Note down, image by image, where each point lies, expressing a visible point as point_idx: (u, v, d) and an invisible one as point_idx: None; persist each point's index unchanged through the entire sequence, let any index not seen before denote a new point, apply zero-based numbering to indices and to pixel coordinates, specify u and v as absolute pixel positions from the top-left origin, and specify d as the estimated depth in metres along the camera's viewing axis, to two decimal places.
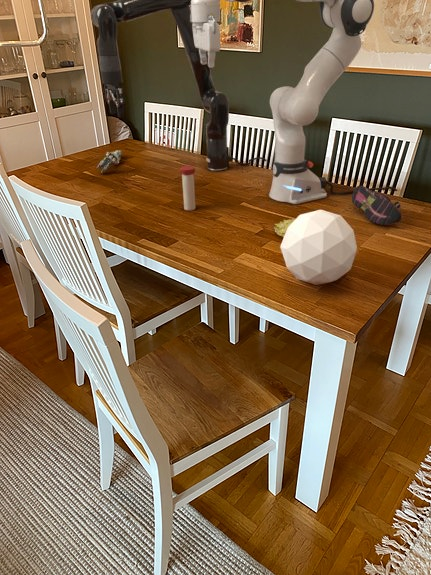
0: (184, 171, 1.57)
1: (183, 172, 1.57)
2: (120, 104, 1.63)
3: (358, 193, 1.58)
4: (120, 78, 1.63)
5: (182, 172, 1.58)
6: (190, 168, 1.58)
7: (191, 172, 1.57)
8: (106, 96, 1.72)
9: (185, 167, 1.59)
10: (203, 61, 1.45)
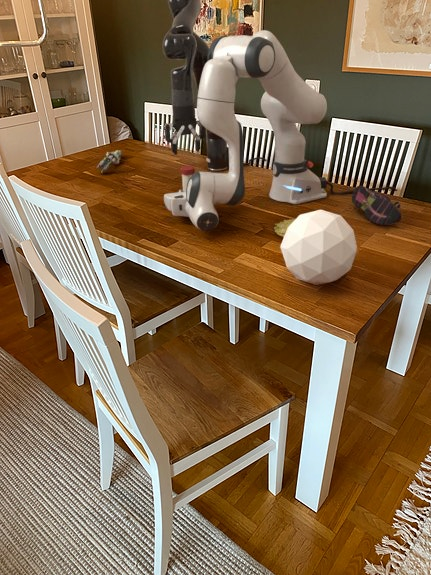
0: (184, 171, 1.57)
1: (183, 172, 1.57)
2: None
3: (358, 193, 1.58)
4: None
5: (182, 172, 1.58)
6: (190, 168, 1.58)
7: (191, 172, 1.57)
8: None
9: (185, 167, 1.59)
10: None
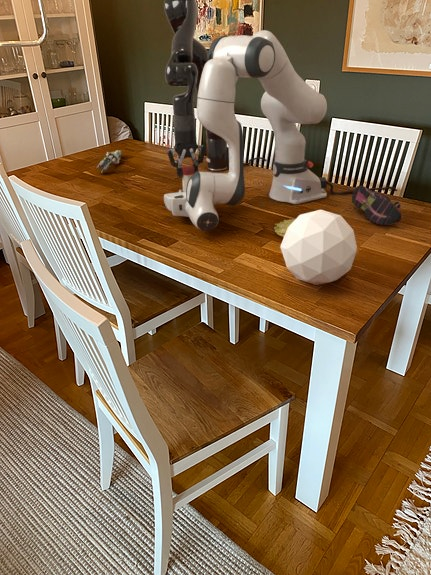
0: (184, 171, 1.57)
1: (183, 172, 1.57)
2: None
3: (358, 193, 1.58)
4: None
5: (182, 172, 1.57)
6: (190, 168, 1.58)
7: (191, 172, 1.57)
8: (174, 161, 1.54)
9: (185, 167, 1.59)
10: None
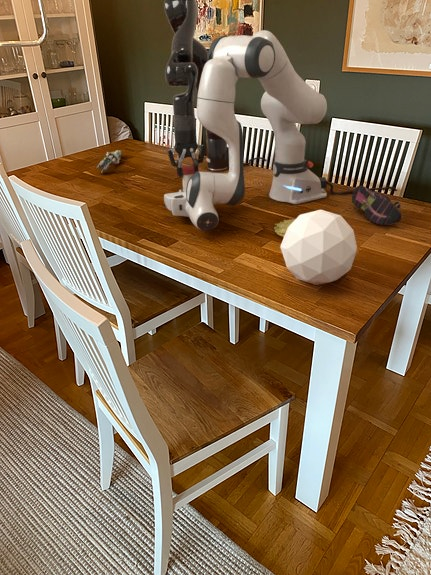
0: (193, 169, 1.58)
1: (193, 171, 1.58)
2: None
3: (358, 193, 1.58)
4: None
5: (192, 171, 1.57)
6: (189, 166, 1.59)
7: None
8: (174, 161, 1.54)
9: (185, 168, 1.58)
10: None
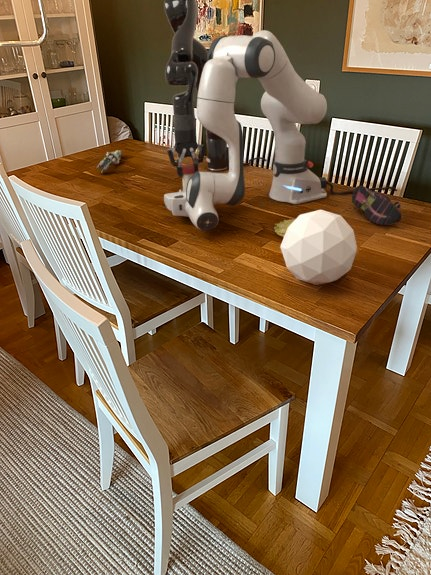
0: None
1: None
2: None
3: (358, 193, 1.58)
4: None
5: None
6: (184, 166, 1.59)
7: None
8: (174, 160, 1.54)
9: (189, 167, 1.58)
10: None
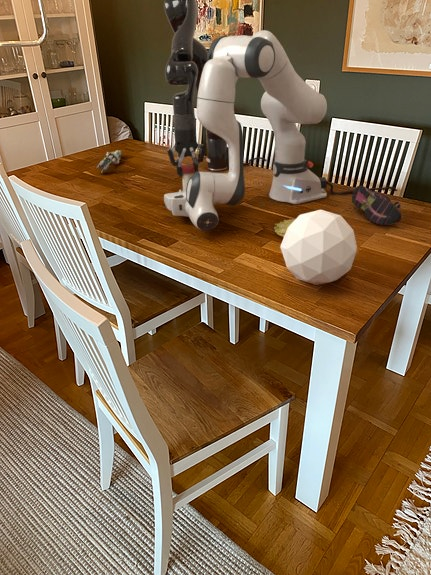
0: None
1: None
2: None
3: (358, 193, 1.58)
4: None
5: None
6: (185, 167, 1.57)
7: None
8: (174, 160, 1.54)
9: (189, 166, 1.59)
10: None
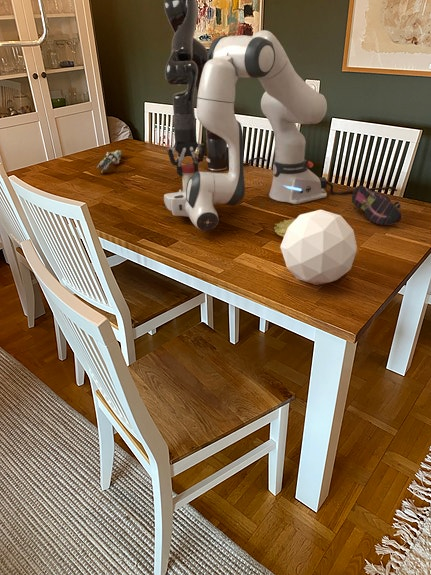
0: (184, 169, 1.57)
1: (183, 170, 1.57)
2: None
3: (358, 193, 1.58)
4: None
5: (182, 170, 1.57)
6: (190, 166, 1.58)
7: (191, 170, 1.57)
8: (174, 160, 1.54)
9: (185, 165, 1.59)
10: None
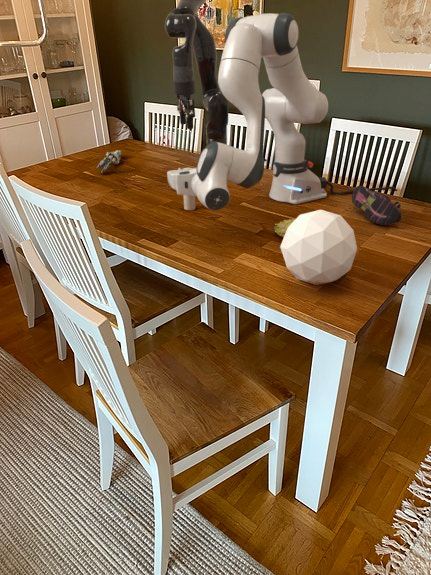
0: None
1: None
2: None
3: (358, 193, 1.58)
4: None
5: None
6: None
7: None
8: None
9: None
10: None
